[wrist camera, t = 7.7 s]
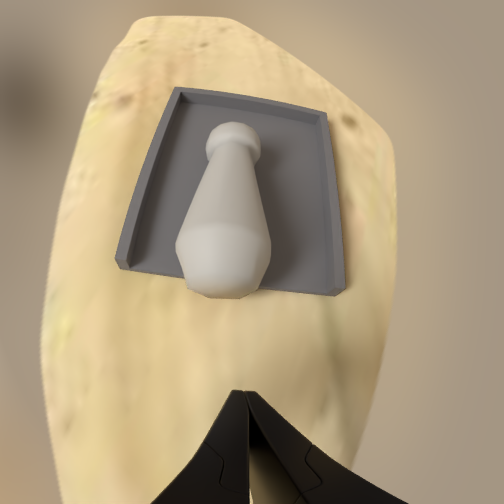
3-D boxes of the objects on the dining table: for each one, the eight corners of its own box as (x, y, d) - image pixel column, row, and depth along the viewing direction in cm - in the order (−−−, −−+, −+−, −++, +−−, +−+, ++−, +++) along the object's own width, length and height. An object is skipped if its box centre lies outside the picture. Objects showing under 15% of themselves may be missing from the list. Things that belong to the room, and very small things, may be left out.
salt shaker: (238, 251, 14) (248, 97, 21) (148, 274, 16) (185, 126, 23) (287, 296, 18) (281, 149, 25) (208, 308, 21) (223, 170, 27)
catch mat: (334, 296, 22) (345, 288, 21) (120, 268, 20) (114, 258, 19) (320, 124, 30) (326, 112, 29) (174, 100, 28) (174, 86, 27)
